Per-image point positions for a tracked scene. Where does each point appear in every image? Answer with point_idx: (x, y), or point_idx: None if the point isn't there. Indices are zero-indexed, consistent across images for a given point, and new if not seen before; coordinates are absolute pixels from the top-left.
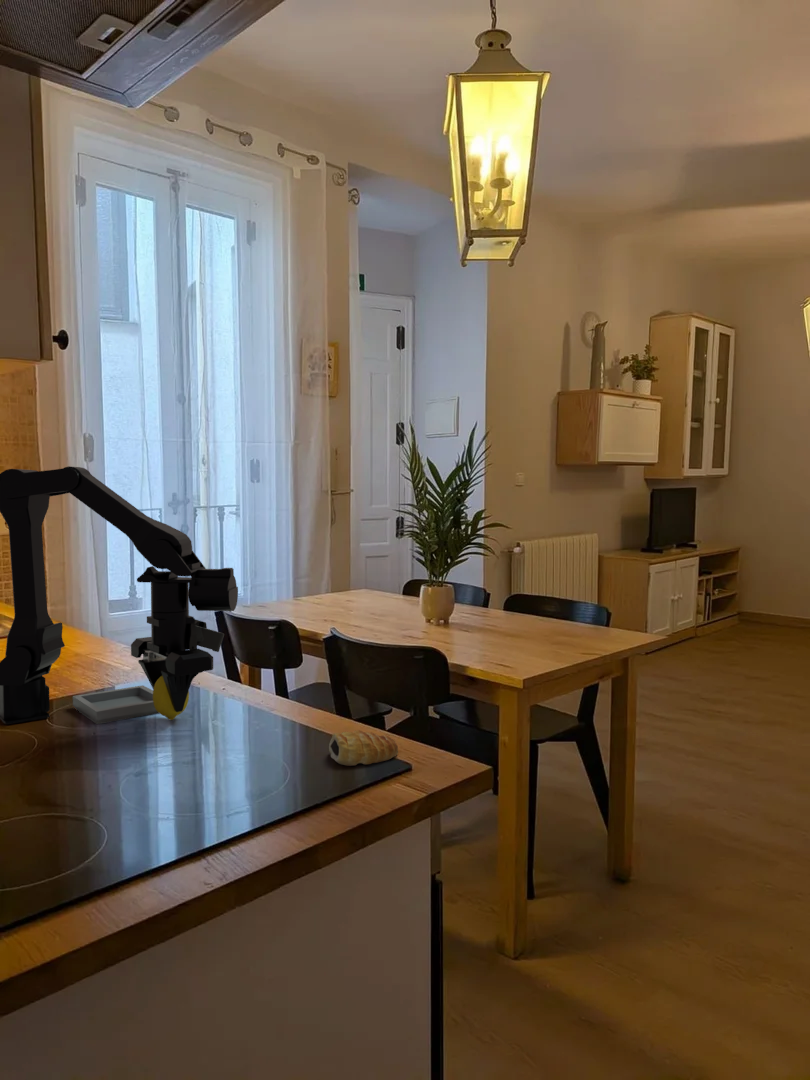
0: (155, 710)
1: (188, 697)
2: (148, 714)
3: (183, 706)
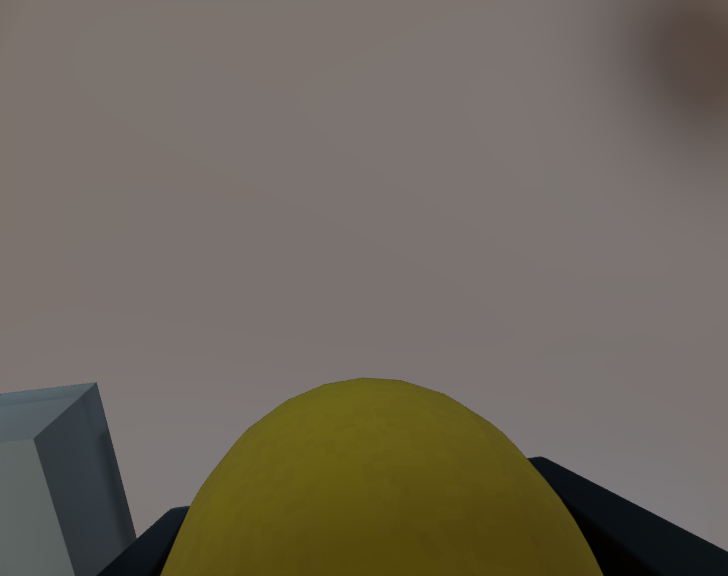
0: (112, 510)
1: (483, 425)
2: (133, 540)
3: (573, 474)
